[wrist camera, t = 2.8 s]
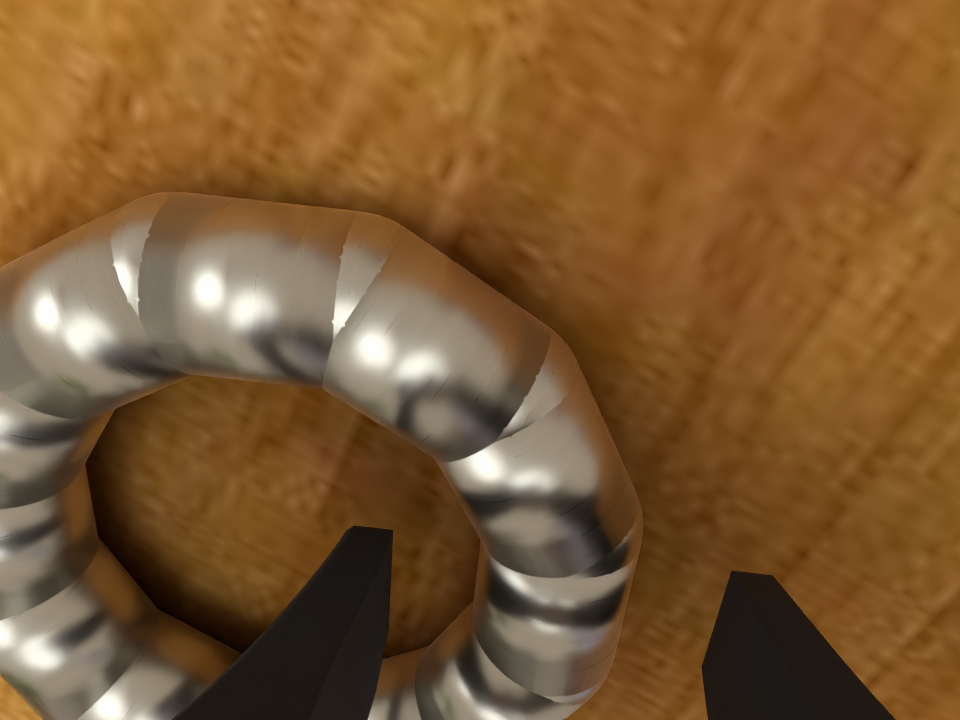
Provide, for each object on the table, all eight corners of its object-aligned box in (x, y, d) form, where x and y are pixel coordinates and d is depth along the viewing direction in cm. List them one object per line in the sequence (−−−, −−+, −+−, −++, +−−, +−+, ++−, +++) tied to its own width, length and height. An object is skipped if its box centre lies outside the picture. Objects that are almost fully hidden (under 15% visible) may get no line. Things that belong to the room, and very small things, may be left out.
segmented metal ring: (574, 754, 16) (578, 876, 13) (39, 686, 16) (-40, 796, 14) (690, 225, 11) (728, 287, 8) (-95, 140, 11) (-251, 179, 9)
